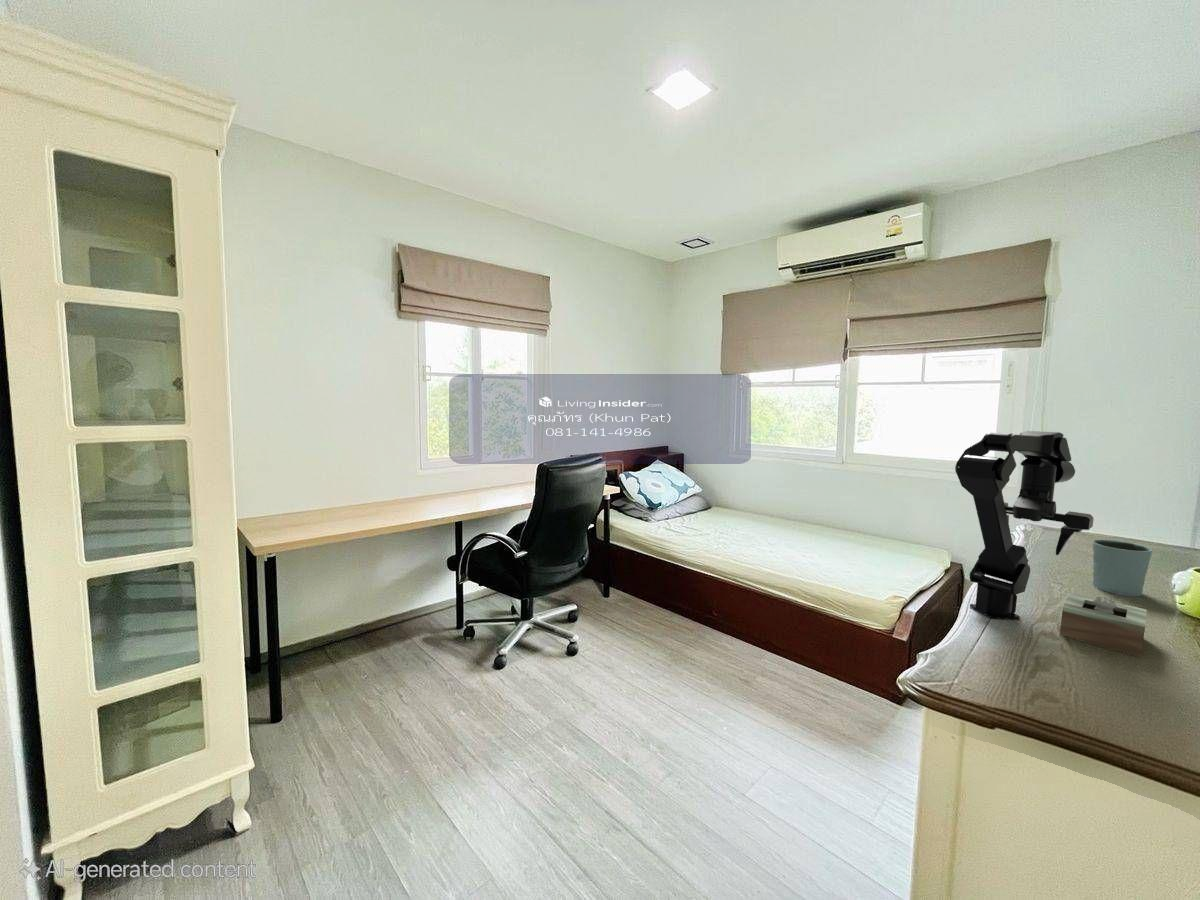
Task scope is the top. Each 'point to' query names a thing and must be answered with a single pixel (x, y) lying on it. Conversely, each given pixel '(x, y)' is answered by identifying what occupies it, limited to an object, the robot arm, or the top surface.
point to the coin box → (1104, 624)
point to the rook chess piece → (1104, 605)
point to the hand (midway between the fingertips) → (1030, 549)
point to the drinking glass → (1120, 566)
